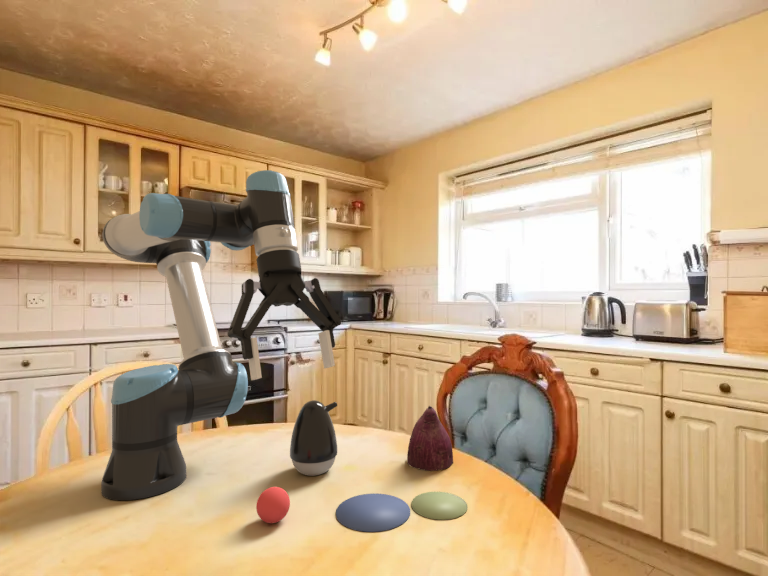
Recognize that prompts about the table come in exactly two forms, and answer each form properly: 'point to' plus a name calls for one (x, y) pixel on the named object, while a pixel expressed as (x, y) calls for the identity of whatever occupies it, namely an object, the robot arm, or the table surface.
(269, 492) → the ball
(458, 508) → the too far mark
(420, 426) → the vegetable
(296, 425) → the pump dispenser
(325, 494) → the table surface
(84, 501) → the table surface
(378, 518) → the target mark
